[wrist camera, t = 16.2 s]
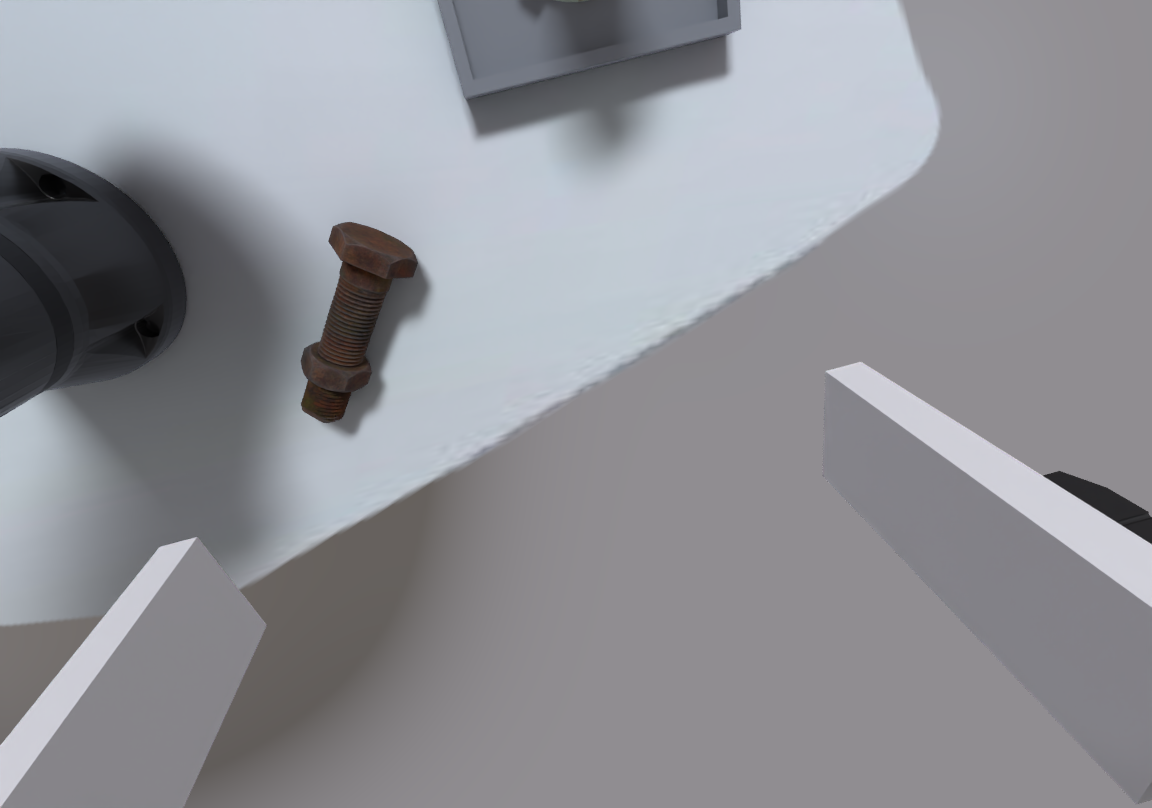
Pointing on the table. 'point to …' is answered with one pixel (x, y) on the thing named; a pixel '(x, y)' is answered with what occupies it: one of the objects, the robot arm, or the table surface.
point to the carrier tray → (570, 35)
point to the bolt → (352, 317)
